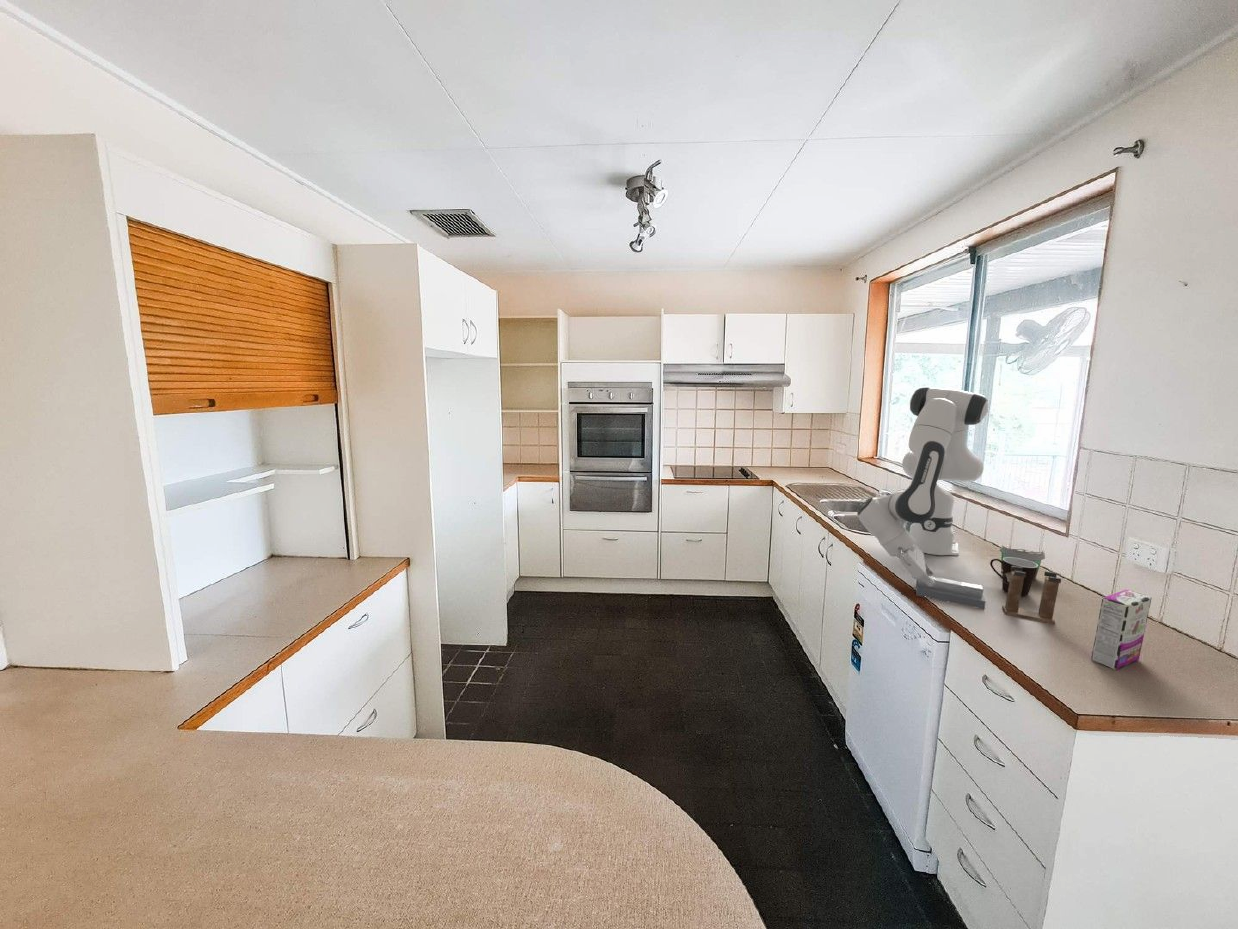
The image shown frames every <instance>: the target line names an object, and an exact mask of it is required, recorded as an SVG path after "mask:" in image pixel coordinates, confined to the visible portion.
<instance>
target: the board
mask: <svg viewBox="0 0 1238 929" xmlns="http://www.w3.org/2000/svg"><path fill="white" fill-rule="evenodd" d="M915 581H916V583H915V592H916V596H918V597H923V596H926V597H925V598H927V597H930V598H929V599H932V598H934V599H933V600H937V601H943V602H947V601H949V602H948V603H953V604H958V605H962V606H967V607H972V608H977V609H983V610H985V607H986V600H985V597H984V595H983V594H984V593H982V598H981V597H976V596H971V595H966V594H961V593H955V592H950V591H945V590H940V589H935V588H929V587H924V586H919V579H918V580H915ZM923 598H924V597H923Z"/></svg>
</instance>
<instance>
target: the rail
mask: <svg viewBox="0 0 1238 929" xmlns="http://www.w3.org/2000/svg"><path fill="white" fill-rule="evenodd" d="M929 577H930V578H931V579H932V580H933V581H934V585H933V586H931V587H929V586H928V585H927V584H926V583H925V582H924V581H922V580H921V579H919V586H924V587H929V588H935V589H940V590H945V591H950V592H955V593H961V594H966V595H971V596H976V597H981V598H982V594H984V593H983V592H984V588H983V585H981V584H979V585H978V584H975V583H968V582H964V581H963V582H962V581H958V580H953V579H948V578H947V579H946V578H942V577H936V576H932V575H930V576H929Z"/></svg>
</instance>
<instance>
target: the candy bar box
mask: <svg viewBox="0 0 1238 929" xmlns="http://www.w3.org/2000/svg"><path fill="white" fill-rule="evenodd" d="M1152 599H1153V598H1152V596H1148V595H1147V594H1142V593H1139V592H1136V591H1133V590H1130V589H1124V590H1121V591H1118V592H1115V593H1112V594H1108V595H1106V596H1103V597H1102V599H1101V604H1100V610H1099V616H1098V619H1097V620H1098V621H1097V626H1096V630H1095V631H1096V632H1095V638H1094V641H1093V642H1094V643H1093V646H1092V647H1093V648H1092V652H1091V658H1090V660H1091V661H1093V662H1095V663H1097V664H1099V665H1101V666H1104V667H1107V668H1109V669H1112V670H1114V671H1117V670H1119V669H1122V668H1124V667H1126V666H1129V665H1131V664H1132V663H1135V662H1137V661H1139V660H1140V656H1141V652H1142V646H1143V642H1144V638H1145V637H1144V636H1145V632H1146V627H1147V623H1148V617H1149V613H1150V607H1151V603H1152Z"/></svg>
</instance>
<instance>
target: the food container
mask: <svg viewBox="0 0 1238 929" xmlns="http://www.w3.org/2000/svg"><path fill="white" fill-rule="evenodd" d="M999 552H1001V559H1000V560H1001V561H1003V558H1005V557H1014V558H1021V559H1025V560H1029V561H1032V562H1034V563H1036V564H1037V565H1038V568H1037V571H1036V574H1035V577H1034V580H1033V582H1034V581H1036V579H1037V575H1038V573H1039V569H1040V566H1041V563H1042V560H1045V559H1046V555H1045V551H1044V550H1042V551H1032V550H1027V549H1022V548H1009V547H1006V546H1004V545H1003V544H1002V545H1001V547H1000V549H999ZM1000 573H1001V574H1000V575H1003V565H1002V564H1001V563H1000Z"/></svg>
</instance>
